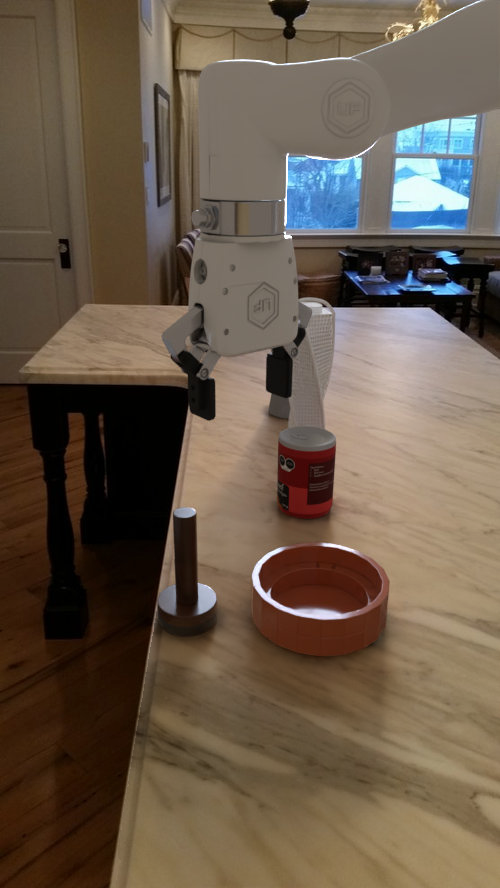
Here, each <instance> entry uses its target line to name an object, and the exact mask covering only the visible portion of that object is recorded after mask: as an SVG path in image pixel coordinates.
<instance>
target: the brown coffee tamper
mask: <svg viewBox="0 0 500 888" xmlns="http://www.w3.org/2000/svg"><path fill="white" fill-rule="evenodd" d="M197 516H198V515H197V511H196V509H194V508H193V507H188V506H183V507H179V508H176V509H174V510H173V512H172V526H173V527H172V529H173V530H172V531H173V554H174V555H173V557H174V578H175V579H174V580H175V581H174V584H171V585H169V586H167V587H166V588H164V589H163V590H162V591H161V592H160V593H159V595H158V596H157V621H158V624H159V626H160V627H161V629H163V630H164V631H165V632H167V633H168V634H171V635H174V636H179V637H192V636H193V637H194V636H198V635H201V634H205V633H207V631H210V629H212V628H213V627H214V626H215V624H216V622H217V620H218V597H217V593H216V592H215V591H214V590H213V588H211V587H210V586H208V585H206V584H203V583H200V582H199V566H198V565H199V564H198V563H199V562H198V561H199V560H198V521H197V518H198V517H197Z"/></svg>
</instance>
